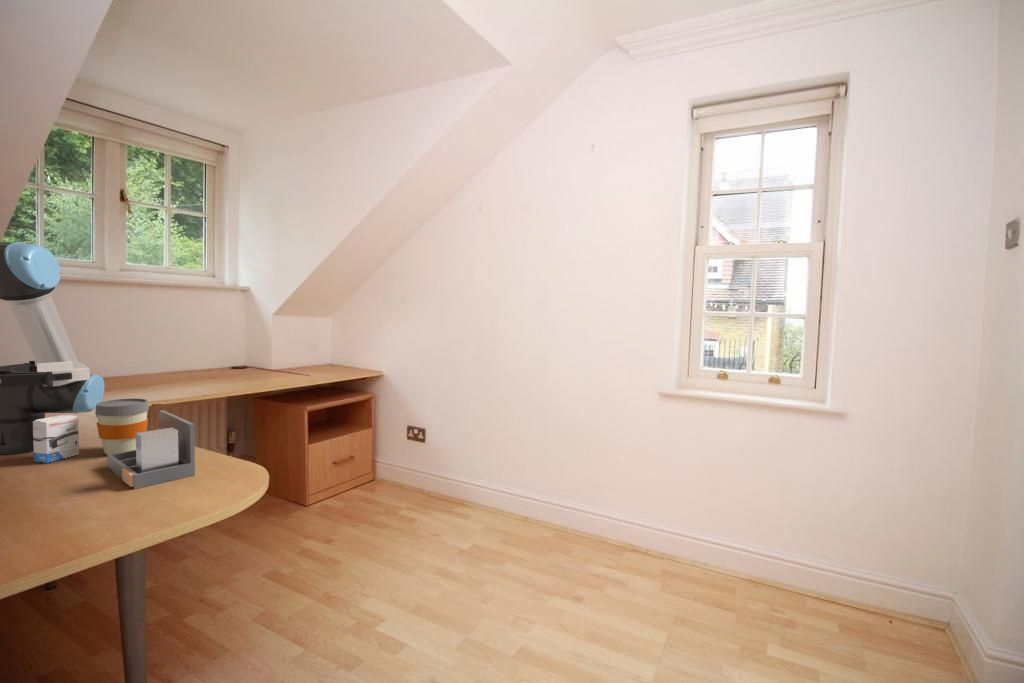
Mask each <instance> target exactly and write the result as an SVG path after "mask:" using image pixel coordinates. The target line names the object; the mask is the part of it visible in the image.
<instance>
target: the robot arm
mask: <svg viewBox="0 0 1024 683" xmlns="http://www.w3.org/2000/svg"><path fill="white" fill-rule="evenodd" d="M60 280H61V267H60V264H59V262H58V259H57V258H56V257H55V255H54V253H52V252H51V251H50V250H49V249H47V248H45V247H43V246H41V245H38V244H34V243H27V242H20V241H15V242H9V241H8V242H7V241H6V242H5V241H0V301H1V302H2V301H3V302H6V303H7V304H8V306H9V308H10V310H11V312H12V314H13V317H14V319H15V321H16V322H17V325H18V327H19V329H20V332H21V334H22V336H23V339H24V341H25V342H26V344H27V346H28V349H29V351H30V353H31V355H32V358H33V359H34V360H29V361H28V362H24V363H18V364H17V363H16V364H15V363H14V364H7V365H0V455H10V454H12V455H13V454H20V453H26V452H27V451H28V452H31V451H32V450H33V451H34V445H33V421H35V420H38V419H43V418H46V414H79V413H90V412H92V411H94V410H96V404H97V403H99V402H102V400H103V396H104V394H105V381H104V378H103V377H102V376H101V375H99V374H96V373H94V374H91V372H90V370H91V369H90V367H88V366H87V365H86V364H84V363H82V362H81V363H80V362H79V360H78V358H77V356H76V353H75V351H74V348H73V345H72V344H71V341H70V338H69V336H68V333H67V331H66V329H65V326H64V324H63V322H62V320H61V317H60V314H59V312H58V310H57V307H56V304H55V302H54V299H53V297H52V294H53V293H54V292H55V291H56V286H57V285H58V284H59V282H60Z"/></svg>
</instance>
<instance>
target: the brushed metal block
mask: <svg viewBox="0 0 1024 683" xmlns="http://www.w3.org/2000/svg"><path fill="white" fill-rule="evenodd" d="M176 465H179V463H178V430H176V429H174V428H166V429H155V430H146V432H140V433H136V470H137V474H139V473H143V472H148V471H153V470H158V469H162V468H167V467H172V466H176Z"/></svg>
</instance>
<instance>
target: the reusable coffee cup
mask: <svg viewBox="0 0 1024 683" xmlns="http://www.w3.org/2000/svg"><path fill="white" fill-rule="evenodd" d="M149 409H150V407H149V400H148V399H146V398H133V397H132V398H118V399H109V400H103V401H101V402H99V403H97V404H96V408H95V415H96V417H97V422H96V427H97V433H98V437H99V439H101V443H102V448H103V449H102V450H103V453H105V454H107V455H110V454H116V453H122V452H127V451H133V450H136V433H140V432H146V431H148V430H147V428H148V421H149V417H147V416H148V411H150V410H149ZM105 454H104V455H105ZM107 455H106V456H107Z"/></svg>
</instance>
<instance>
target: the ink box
mask: <svg viewBox="0 0 1024 683" xmlns="http://www.w3.org/2000/svg"><path fill="white" fill-rule="evenodd" d="M79 437H80V435H79V416H78V415H73V414H61V415H56V416H55V415H54V416H50V417H45V418H43V419H38V420H35V421H33V445H34V450H33V462H34V461H35V462H34V463H40V462H43V464H50V463H49V462H51V463H54V462H57V460H58V461H61V460H60V459H62V460H65V459H68V457H69V458H72V457H71V456H73V457H76V456H75V455H77V456H79V455H80V438H79ZM78 454H79V455H78ZM64 458H65V459H64ZM53 461H54V462H53Z"/></svg>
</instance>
